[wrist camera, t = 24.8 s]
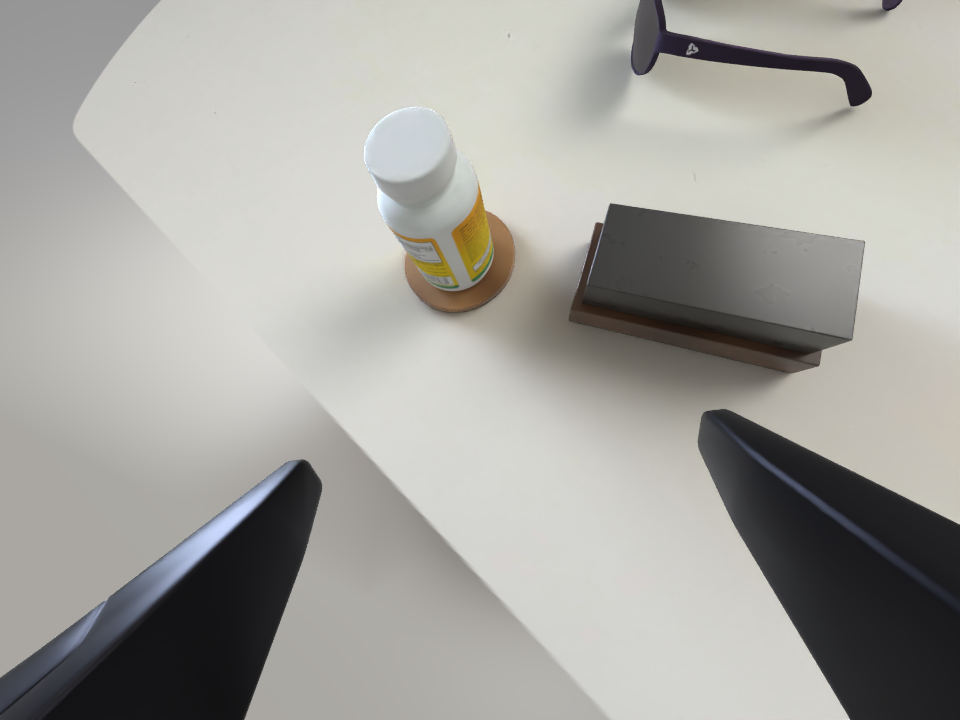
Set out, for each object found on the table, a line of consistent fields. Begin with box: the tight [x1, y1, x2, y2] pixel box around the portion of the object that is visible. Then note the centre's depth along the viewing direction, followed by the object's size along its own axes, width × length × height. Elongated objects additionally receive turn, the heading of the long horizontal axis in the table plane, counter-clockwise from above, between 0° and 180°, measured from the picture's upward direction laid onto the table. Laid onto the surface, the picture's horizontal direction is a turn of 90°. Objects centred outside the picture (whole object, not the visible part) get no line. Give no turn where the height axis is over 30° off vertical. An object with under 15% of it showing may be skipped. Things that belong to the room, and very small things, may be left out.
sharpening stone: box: [569, 203, 865, 373], centre depth 19 cm, size 13×6×4 cm, turn 72°
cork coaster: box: [404, 211, 515, 312], centre depth 24 cm, size 8×8×1 cm
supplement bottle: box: [364, 107, 494, 291], centre depth 19 cm, size 5×5×10 cm
